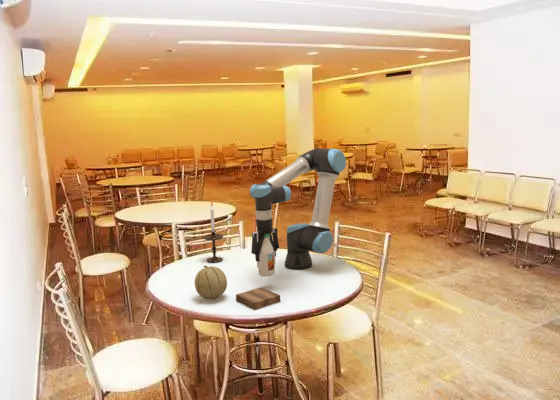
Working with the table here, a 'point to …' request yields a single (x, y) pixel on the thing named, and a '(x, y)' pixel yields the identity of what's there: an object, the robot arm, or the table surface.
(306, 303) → the table surface
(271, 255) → the milk bottle
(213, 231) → the candlestick
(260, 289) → the block
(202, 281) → the cantaloupe
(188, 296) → the table surface
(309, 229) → the robot arm
